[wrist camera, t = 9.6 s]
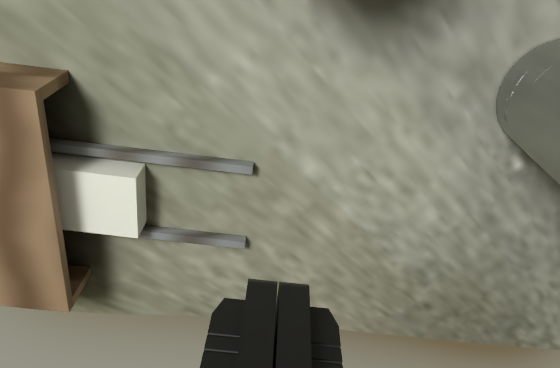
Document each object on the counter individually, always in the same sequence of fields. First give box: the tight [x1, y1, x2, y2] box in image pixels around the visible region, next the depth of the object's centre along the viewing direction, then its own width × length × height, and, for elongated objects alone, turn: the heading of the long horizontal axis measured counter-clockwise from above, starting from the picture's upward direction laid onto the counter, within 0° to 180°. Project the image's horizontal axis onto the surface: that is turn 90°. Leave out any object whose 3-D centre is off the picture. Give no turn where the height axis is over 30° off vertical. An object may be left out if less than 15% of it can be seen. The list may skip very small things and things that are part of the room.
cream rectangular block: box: [51, 153, 147, 238], centre depth 41 cm, size 12×6×3 cm, turn 83°
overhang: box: [0, 62, 254, 313], centre depth 40 cm, size 23×22×6 cm
